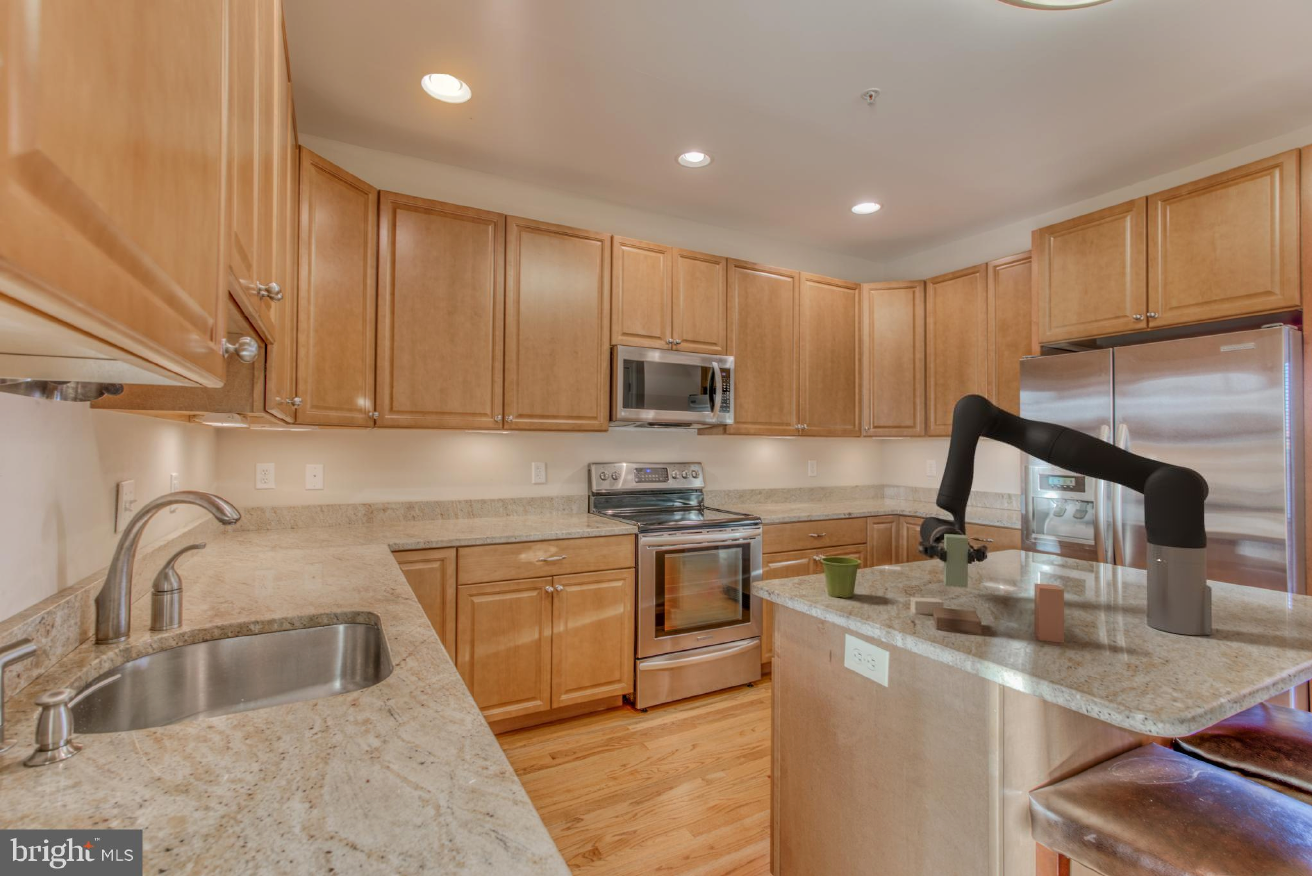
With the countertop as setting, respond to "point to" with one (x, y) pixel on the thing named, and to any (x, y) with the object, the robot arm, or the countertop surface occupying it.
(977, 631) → the walnut brick
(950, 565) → the sage block
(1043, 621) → the terracotta block
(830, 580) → the object
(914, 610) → the cream brick
